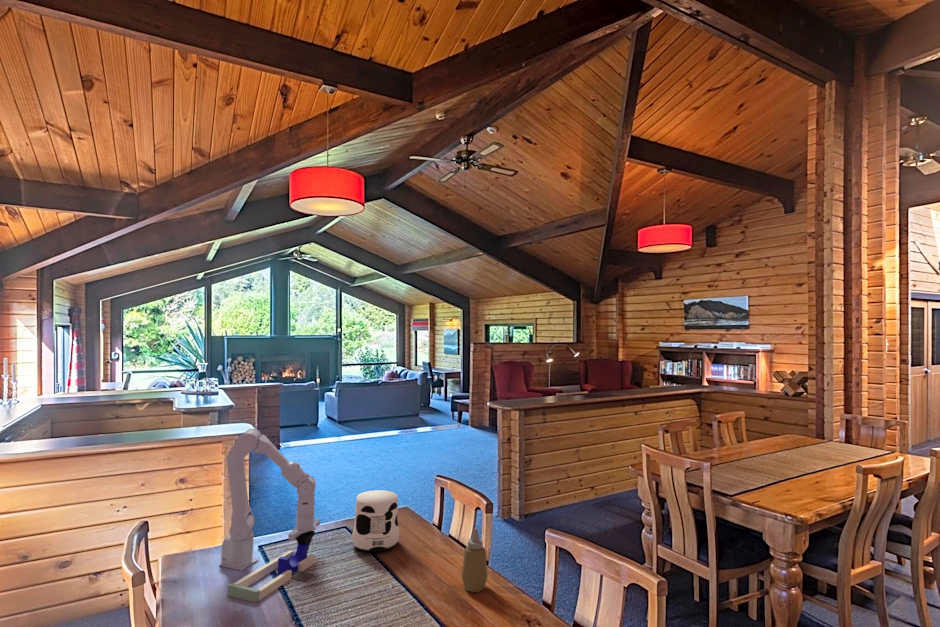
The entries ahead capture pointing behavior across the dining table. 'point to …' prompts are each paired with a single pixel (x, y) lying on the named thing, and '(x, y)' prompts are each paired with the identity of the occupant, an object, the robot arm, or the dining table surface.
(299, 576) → the mat
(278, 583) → the lane
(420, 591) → the dining table surface
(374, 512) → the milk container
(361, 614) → the dining table surface
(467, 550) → the squeeze bottle
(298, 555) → the cable clip
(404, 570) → the dining table surface
